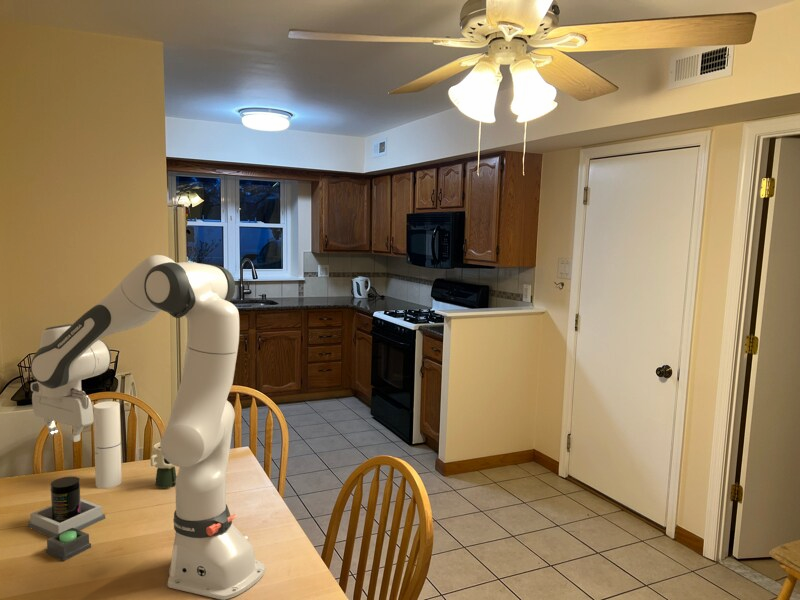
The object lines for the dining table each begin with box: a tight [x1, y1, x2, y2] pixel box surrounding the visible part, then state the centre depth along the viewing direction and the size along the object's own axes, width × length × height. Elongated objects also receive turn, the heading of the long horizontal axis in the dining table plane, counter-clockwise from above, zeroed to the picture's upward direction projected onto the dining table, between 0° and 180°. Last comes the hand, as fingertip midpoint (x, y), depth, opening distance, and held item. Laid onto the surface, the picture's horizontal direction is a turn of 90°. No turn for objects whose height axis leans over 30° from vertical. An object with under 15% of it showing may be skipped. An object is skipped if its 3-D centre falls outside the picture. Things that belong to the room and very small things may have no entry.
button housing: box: [44, 528, 92, 562], centre depth 139 cm, size 7×7×4 cm
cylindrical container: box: [92, 401, 123, 489], centre depth 175 cm, size 7×7×25 cm
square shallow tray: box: [26, 497, 106, 538], centre depth 152 cm, size 13×13×4 cm
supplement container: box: [50, 476, 81, 523], centre depth 152 cm, size 7×7×10 cm
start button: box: [59, 531, 77, 543], centre depth 139 cm, size 4×4×2 cm
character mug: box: [150, 441, 177, 489], centre depth 176 cm, size 11×7×13 cm, turn 153°
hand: (64, 437), depth 150 cm, fingers open, 8 cm apart
